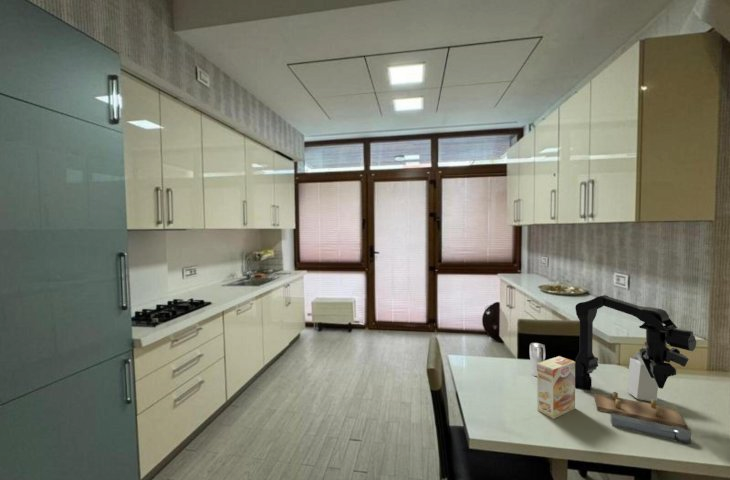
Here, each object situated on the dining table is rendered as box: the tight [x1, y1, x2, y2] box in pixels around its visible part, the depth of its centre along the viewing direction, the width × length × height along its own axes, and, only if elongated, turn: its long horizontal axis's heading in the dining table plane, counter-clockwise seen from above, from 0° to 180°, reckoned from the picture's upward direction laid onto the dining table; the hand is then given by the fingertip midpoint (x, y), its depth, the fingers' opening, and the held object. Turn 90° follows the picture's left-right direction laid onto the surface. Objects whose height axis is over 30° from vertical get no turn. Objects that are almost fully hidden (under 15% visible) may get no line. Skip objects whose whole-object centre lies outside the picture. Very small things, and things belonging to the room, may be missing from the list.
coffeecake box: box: [536, 355, 576, 420], centre depth 127 cm, size 15×7×20 cm, turn 117°
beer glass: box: [529, 342, 546, 378], centre depth 158 cm, size 7×7×15 cm
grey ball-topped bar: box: [609, 413, 692, 445], centre depth 112 cm, size 21×5×3 cm, turn 59°
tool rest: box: [593, 391, 688, 430], centre depth 124 cm, size 26×12×4 cm, turn 59°
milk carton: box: [626, 351, 659, 402], centre depth 134 cm, size 7×7×19 cm
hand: (656, 382), depth 120 cm, fingers open, 9 cm apart
